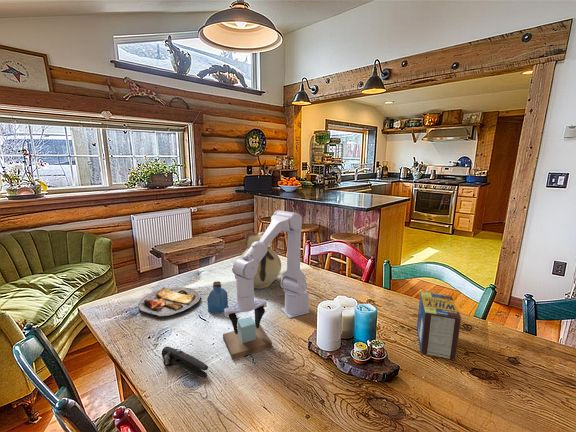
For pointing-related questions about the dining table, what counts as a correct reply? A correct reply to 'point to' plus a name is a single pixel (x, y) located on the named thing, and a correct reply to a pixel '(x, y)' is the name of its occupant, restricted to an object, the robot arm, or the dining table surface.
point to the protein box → (438, 325)
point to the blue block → (246, 329)
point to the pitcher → (264, 263)
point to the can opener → (183, 361)
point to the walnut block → (246, 343)
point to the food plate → (169, 300)
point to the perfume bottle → (217, 299)
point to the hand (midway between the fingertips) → (246, 329)
